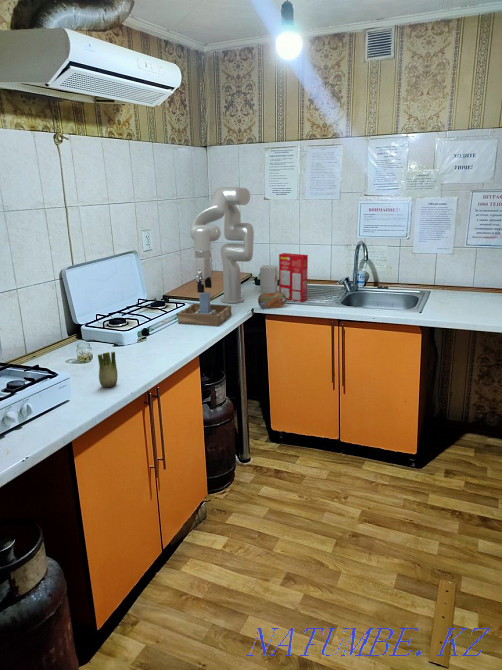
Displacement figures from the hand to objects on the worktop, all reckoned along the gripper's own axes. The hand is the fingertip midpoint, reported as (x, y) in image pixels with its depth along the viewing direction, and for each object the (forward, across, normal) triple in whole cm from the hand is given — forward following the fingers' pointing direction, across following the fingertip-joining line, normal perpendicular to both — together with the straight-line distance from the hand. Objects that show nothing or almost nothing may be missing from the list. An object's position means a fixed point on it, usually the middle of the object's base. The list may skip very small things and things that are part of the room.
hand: (204, 290), depth 247 cm
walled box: (+14, +1, 0) cm, 14 cm away
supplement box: (+16, -65, +15) cm, 69 cm away
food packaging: (+16, -48, +33) cm, 60 cm away
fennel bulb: (+12, +86, -2) cm, 87 cm away
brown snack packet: (+16, -28, +26) cm, 41 cm away
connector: (+13, +1, 0) cm, 13 cm away
